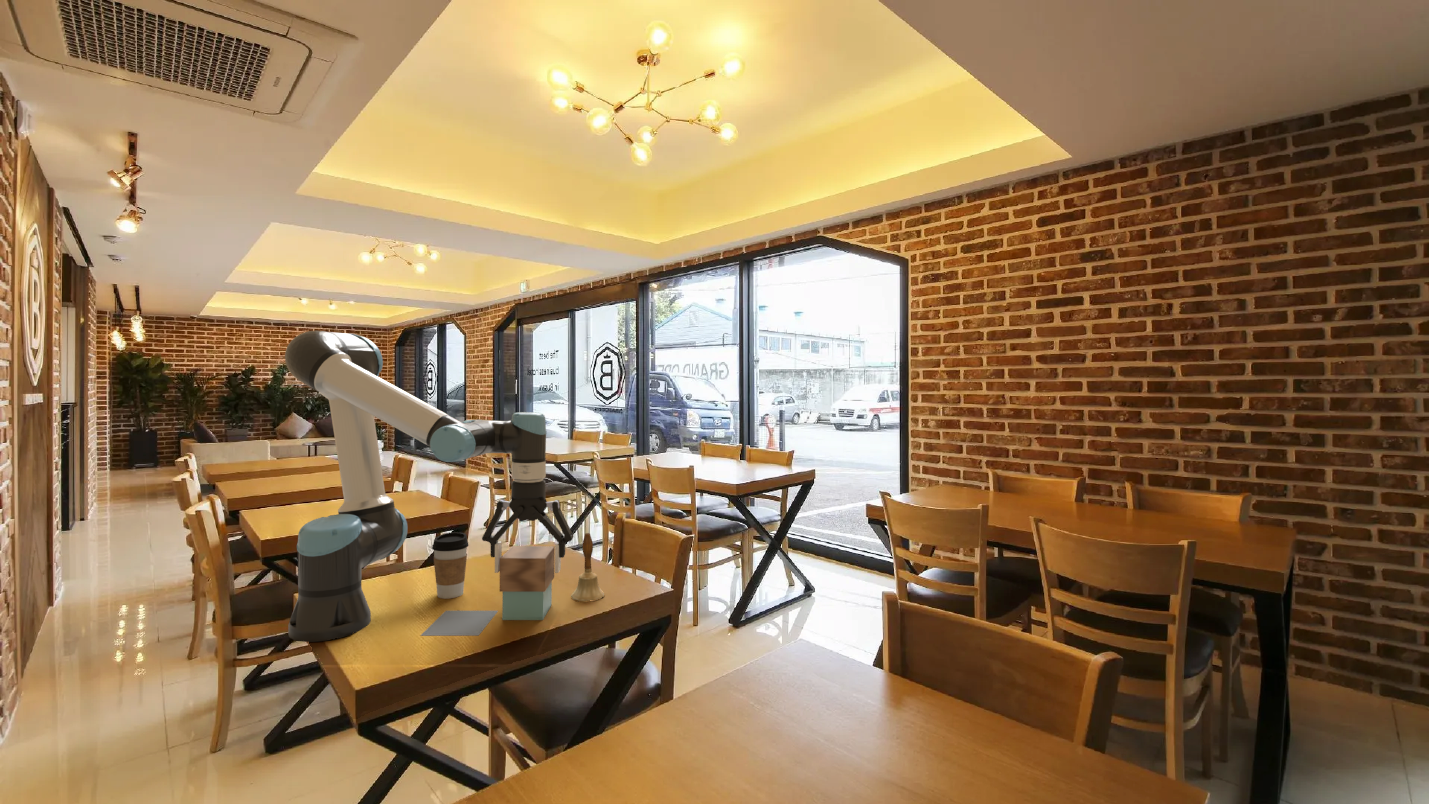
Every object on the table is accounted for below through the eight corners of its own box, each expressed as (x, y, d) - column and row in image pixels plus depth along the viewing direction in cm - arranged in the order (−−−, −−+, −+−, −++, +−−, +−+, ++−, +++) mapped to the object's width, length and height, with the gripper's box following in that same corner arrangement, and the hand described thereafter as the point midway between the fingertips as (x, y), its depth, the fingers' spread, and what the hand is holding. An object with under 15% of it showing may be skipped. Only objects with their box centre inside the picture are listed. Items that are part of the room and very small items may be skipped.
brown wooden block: (499, 591, 139) (499, 558, 139) (511, 577, 149) (512, 546, 149) (544, 591, 140) (545, 558, 140) (554, 577, 150) (554, 546, 150)
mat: (420, 637, 131) (420, 635, 131) (445, 612, 145) (445, 610, 145) (478, 637, 132) (478, 635, 132) (498, 612, 146) (498, 610, 146)
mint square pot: (502, 621, 140) (502, 590, 140) (513, 606, 149) (513, 577, 149) (543, 621, 141) (543, 590, 140) (551, 606, 150) (551, 577, 149)
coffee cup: (474, 590, 160) (474, 532, 159) (457, 602, 151) (458, 541, 151) (443, 589, 161) (443, 531, 160) (424, 600, 152) (424, 539, 152)
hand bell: (586, 604, 152) (587, 539, 151) (564, 596, 157) (564, 533, 156) (611, 595, 158) (612, 533, 158) (589, 588, 163) (590, 527, 163)
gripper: (467, 481, 139) (467, 576, 140) (580, 483, 141) (579, 576, 141) (478, 476, 147) (478, 565, 148) (586, 477, 148) (585, 566, 149)
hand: (528, 571), depth 145 cm, fingers open, 13 cm apart
